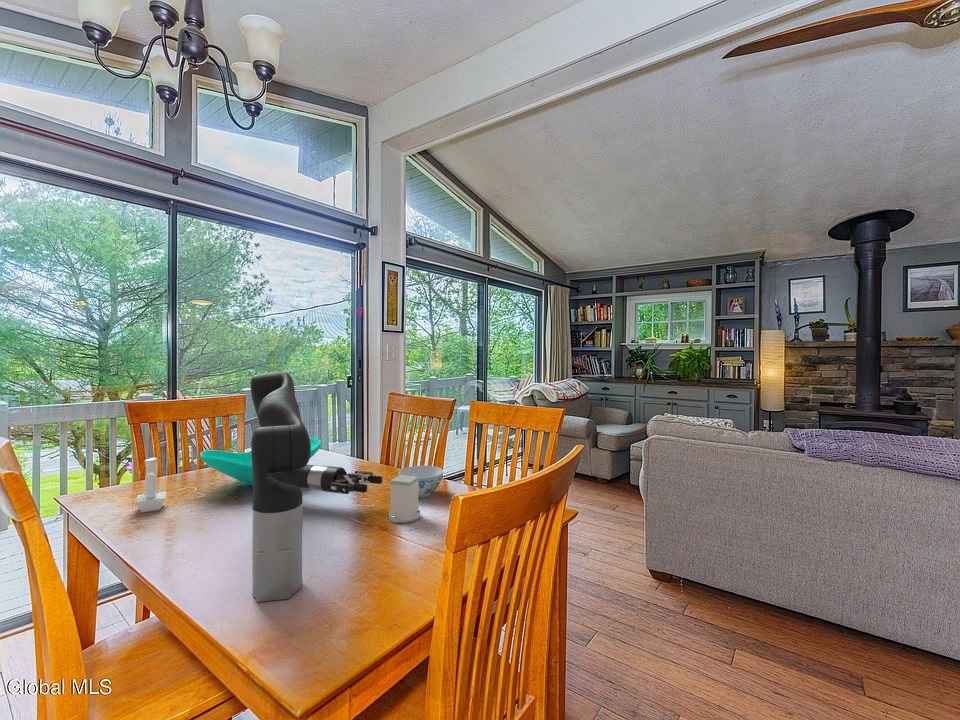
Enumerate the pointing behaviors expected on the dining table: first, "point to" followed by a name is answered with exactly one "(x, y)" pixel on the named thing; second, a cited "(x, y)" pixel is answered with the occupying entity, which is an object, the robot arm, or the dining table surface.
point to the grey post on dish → (404, 518)
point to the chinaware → (424, 478)
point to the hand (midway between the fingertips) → (374, 484)
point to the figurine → (150, 489)
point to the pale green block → (404, 496)
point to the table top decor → (239, 462)
